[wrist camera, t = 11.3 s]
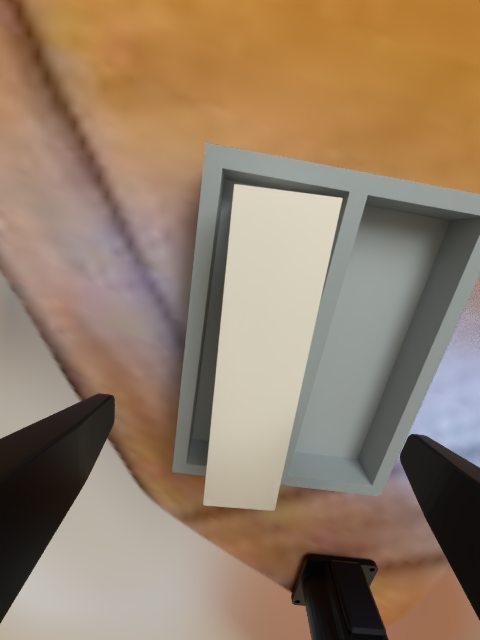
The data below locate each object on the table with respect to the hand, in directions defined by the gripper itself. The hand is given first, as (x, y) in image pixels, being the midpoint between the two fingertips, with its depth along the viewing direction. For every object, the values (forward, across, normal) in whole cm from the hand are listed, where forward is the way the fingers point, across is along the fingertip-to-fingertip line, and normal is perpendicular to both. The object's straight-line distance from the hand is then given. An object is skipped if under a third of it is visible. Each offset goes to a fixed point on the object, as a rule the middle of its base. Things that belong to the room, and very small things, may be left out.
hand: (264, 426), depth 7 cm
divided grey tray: (+9, -3, 0) cm, 9 cm away
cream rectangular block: (+8, 0, 0) cm, 8 cm away
